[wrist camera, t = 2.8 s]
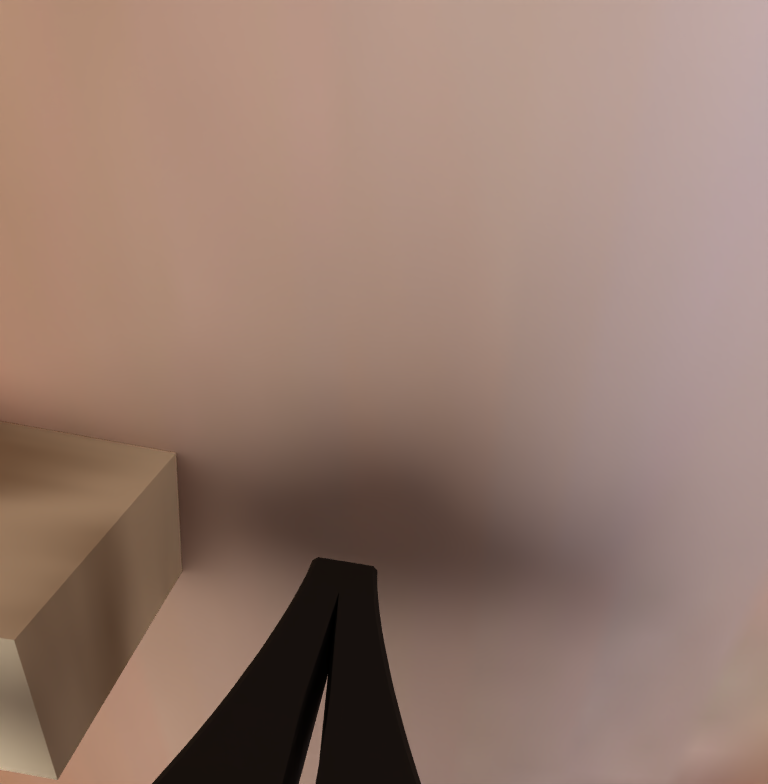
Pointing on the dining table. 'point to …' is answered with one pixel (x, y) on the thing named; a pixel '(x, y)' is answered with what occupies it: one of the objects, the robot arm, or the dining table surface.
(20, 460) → the beige rectangular block
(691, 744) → the dining table surface
